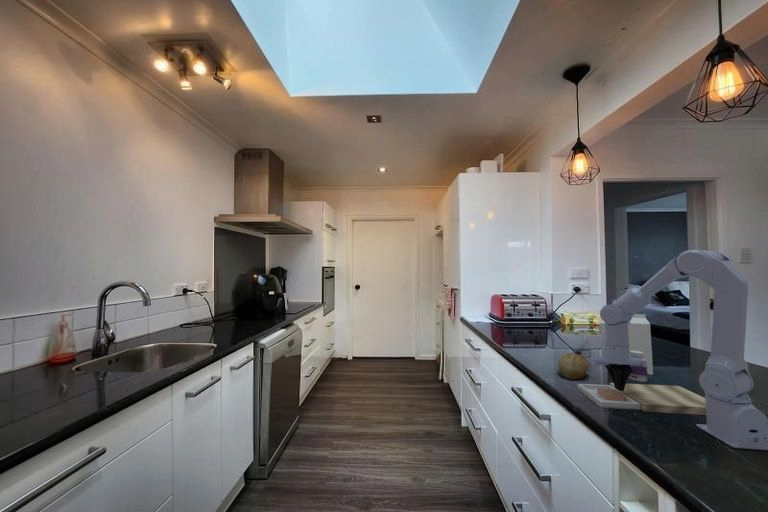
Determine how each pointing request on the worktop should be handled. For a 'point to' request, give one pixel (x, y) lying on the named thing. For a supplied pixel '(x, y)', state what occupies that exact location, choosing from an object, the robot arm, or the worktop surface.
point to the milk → (641, 338)
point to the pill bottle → (638, 368)
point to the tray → (592, 393)
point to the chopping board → (665, 399)
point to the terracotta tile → (611, 394)
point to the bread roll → (573, 365)
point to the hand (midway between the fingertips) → (619, 389)
